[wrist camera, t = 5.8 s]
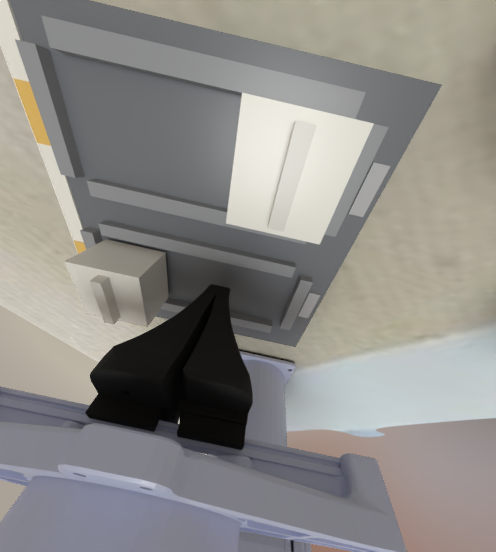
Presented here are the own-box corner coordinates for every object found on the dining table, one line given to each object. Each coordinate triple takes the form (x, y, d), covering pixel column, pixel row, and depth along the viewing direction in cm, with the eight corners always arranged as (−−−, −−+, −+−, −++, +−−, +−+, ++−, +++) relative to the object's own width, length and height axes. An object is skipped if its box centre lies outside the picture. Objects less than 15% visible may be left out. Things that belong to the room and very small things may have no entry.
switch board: (293, 329, 18) (296, 352, 16) (112, 289, 18) (91, 308, 16) (410, 96, 9) (454, 80, 7) (30, 6, 9) (-50, -41, 6)
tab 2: (168, 297, 15) (142, 334, 12) (118, 285, 15) (78, 320, 12) (165, 252, 12) (131, 284, 10) (106, 239, 12) (53, 267, 9)
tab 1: (308, 221, 10) (322, 251, 7) (237, 205, 10) (222, 228, 7) (343, 131, 8) (383, 120, 5) (252, 109, 8) (239, 86, 5)
